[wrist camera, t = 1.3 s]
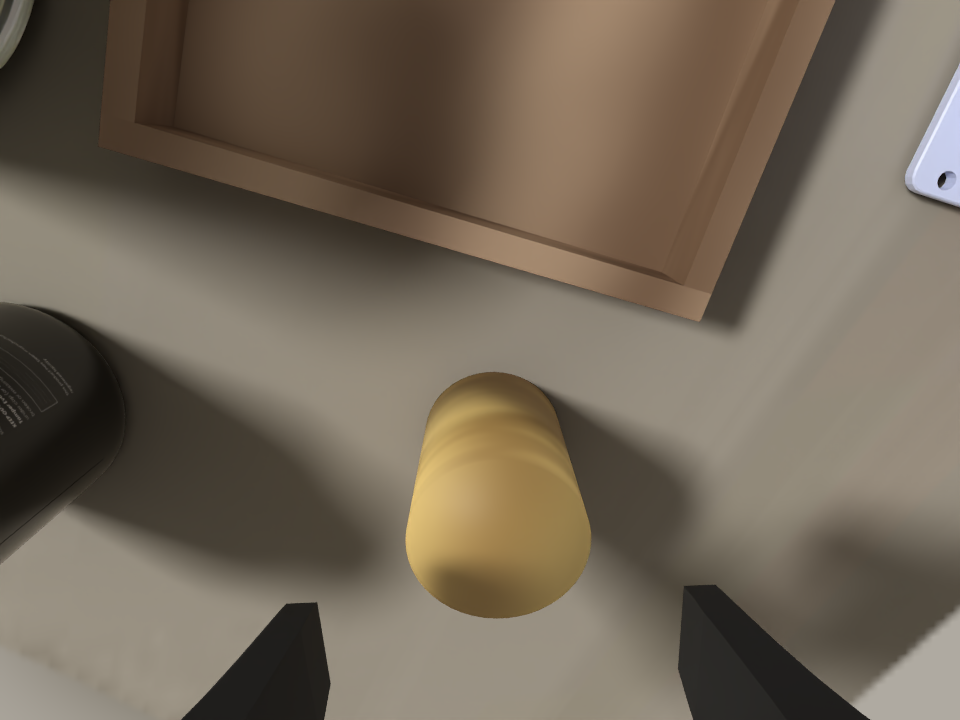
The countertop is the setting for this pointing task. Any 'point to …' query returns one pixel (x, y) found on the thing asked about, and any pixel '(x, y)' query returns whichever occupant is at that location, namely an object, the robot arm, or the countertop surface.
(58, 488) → the supplement bottle
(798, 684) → the robot arm
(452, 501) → the tan wooden cylinder
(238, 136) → the tray
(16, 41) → the coffee can
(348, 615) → the countertop surface
